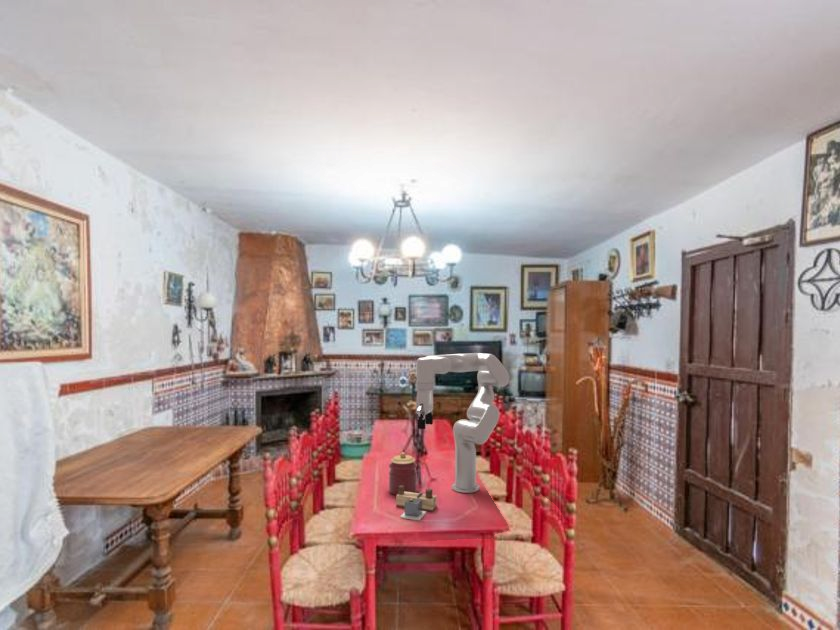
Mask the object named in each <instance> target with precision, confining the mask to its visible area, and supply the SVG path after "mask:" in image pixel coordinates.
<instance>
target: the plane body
mask: <svg viewBox="0 0 840 630" xmlns="http://www.w3.org/2000/svg"><path fill="white" fill-rule="evenodd" d="M395 496H396V497H395V498H396V507H401V508H405V502H406V501H407V500H408V499H409V498H413V499H420V500H422V511H426V512H434V510H435V509H436V508H437V507H438V496H437V495H434V494H433V489H432V488H426V489H425V493H423V491H420V492H419V493H418V492H416V493H413V492H405V491H404V486H402V485H400V486H399V487H398V494H397V495H395Z"/></svg>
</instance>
